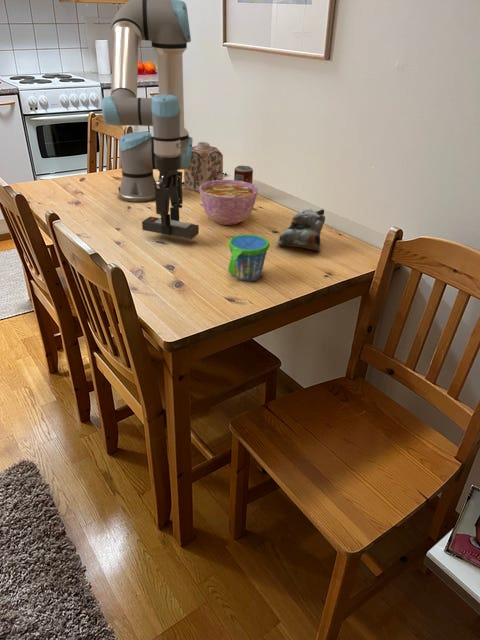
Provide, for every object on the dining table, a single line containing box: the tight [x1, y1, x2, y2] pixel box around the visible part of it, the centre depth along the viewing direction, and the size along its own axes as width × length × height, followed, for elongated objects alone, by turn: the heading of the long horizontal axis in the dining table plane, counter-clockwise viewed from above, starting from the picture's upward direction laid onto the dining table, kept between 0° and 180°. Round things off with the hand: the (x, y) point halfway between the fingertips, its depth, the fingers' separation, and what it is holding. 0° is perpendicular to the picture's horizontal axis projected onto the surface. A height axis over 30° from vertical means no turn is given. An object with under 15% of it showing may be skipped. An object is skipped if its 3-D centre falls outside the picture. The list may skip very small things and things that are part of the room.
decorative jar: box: [183, 141, 224, 193], centre depth 196 cm, size 12×12×18 cm
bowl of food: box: [199, 179, 259, 226], centre depth 167 cm, size 20×20×12 cm
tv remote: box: [141, 216, 200, 240], centre depth 151 cm, size 17×5×3 cm, turn 69°
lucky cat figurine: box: [275, 208, 326, 252], centre depth 150 cm, size 15×12×14 cm
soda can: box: [233, 165, 254, 184], centre depth 188 cm, size 7×7×12 cm
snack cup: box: [227, 234, 270, 282], centre depth 131 cm, size 16×10×10 cm
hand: (170, 231), depth 151 cm, fingers closed on tv remote, 5 cm apart
